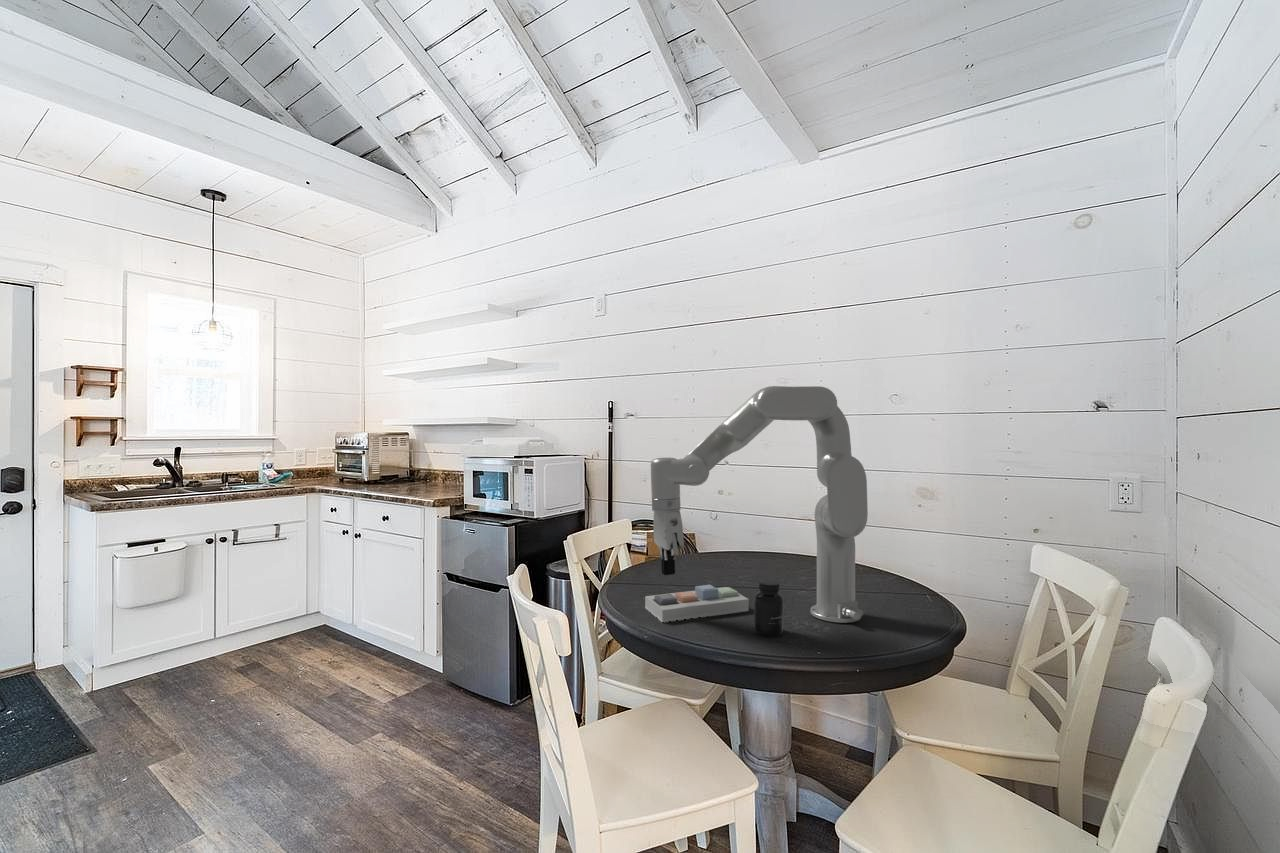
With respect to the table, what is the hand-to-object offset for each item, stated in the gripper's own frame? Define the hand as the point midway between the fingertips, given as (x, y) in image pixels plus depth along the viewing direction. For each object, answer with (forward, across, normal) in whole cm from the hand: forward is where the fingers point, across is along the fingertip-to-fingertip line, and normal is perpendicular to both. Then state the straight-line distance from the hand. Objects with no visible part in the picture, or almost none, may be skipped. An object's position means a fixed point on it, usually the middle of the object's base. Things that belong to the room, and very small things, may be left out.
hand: (668, 573), depth 152 cm
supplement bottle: (+12, -21, -17) cm, 29 cm away
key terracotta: (+9, 0, -5) cm, 11 cm away
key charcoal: (+9, 0, +1) cm, 9 cm away
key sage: (+10, 0, -17) cm, 20 cm away
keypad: (+11, 0, -8) cm, 13 cm away
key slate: (+8, 0, -11) cm, 14 cm away
